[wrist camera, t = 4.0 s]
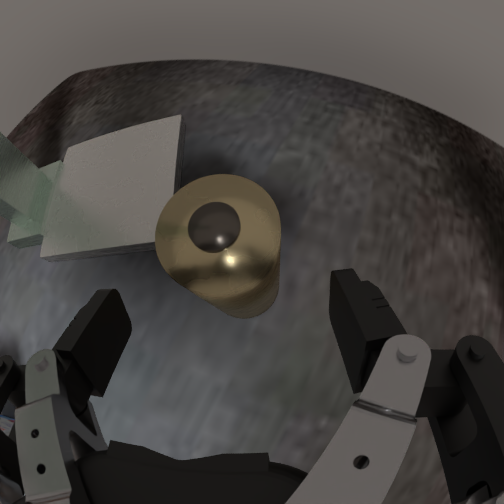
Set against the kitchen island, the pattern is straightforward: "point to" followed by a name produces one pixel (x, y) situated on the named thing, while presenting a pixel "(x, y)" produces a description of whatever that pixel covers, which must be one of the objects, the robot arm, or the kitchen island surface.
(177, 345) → the kitchen island surface
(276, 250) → the housing
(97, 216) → the press bed
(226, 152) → the kitchen island surface
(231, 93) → the kitchen island surface
